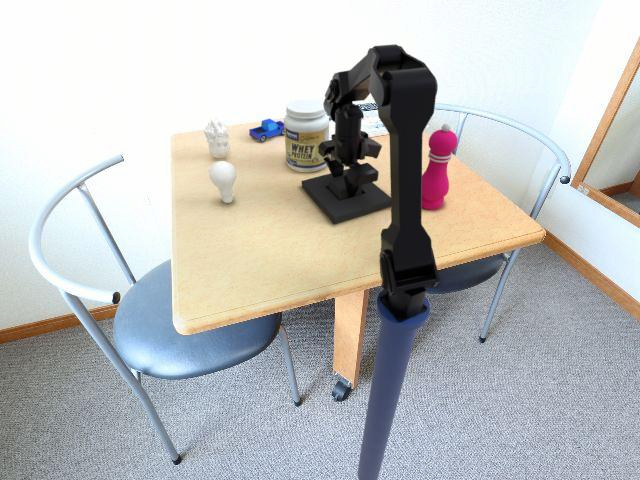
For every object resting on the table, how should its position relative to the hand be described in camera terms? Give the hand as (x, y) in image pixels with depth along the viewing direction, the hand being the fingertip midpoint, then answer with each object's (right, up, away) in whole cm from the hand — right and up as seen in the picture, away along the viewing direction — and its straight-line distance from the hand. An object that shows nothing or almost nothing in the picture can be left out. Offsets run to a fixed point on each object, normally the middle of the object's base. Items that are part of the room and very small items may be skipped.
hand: (345, 191), depth 92 cm
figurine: (-36, +13, +18) cm, 42 cm away
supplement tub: (-10, +10, +14) cm, 20 cm away
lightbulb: (-29, -3, -1) cm, 29 cm away
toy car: (-23, +22, +29) cm, 43 cm away
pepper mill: (+21, -3, -1) cm, 21 cm away
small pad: (0, -1, +1) cm, 1 cm away
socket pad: (0, -1, +1) cm, 2 cm away
